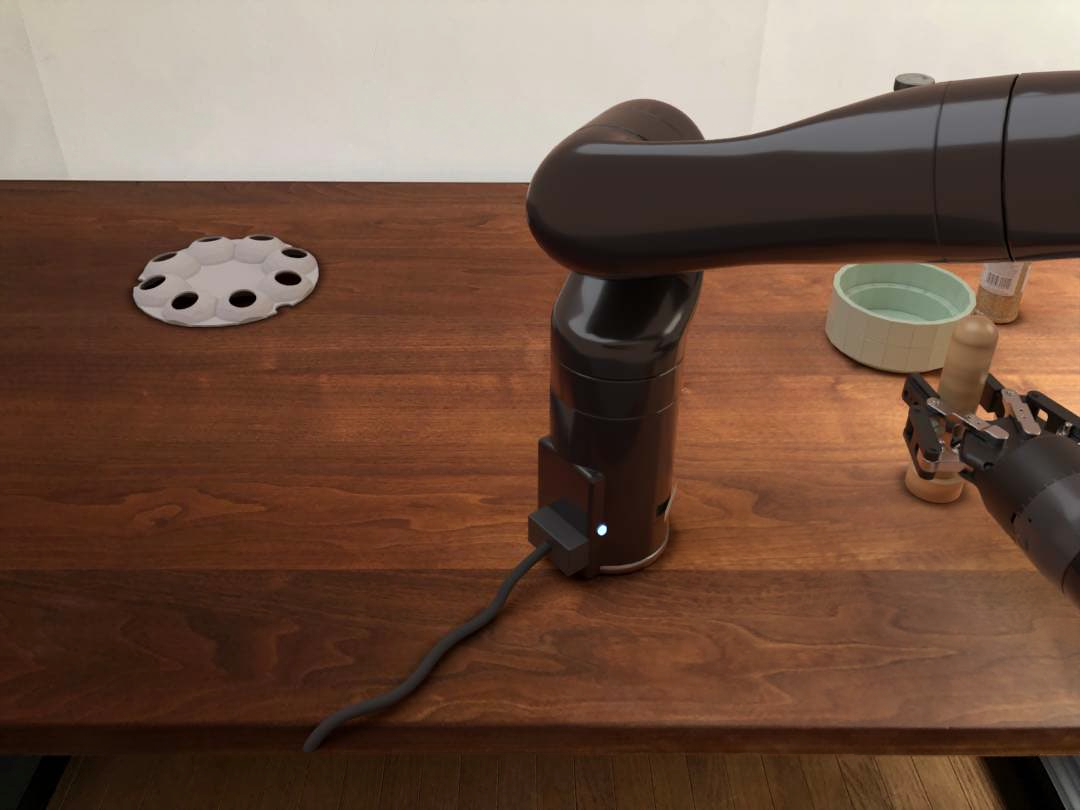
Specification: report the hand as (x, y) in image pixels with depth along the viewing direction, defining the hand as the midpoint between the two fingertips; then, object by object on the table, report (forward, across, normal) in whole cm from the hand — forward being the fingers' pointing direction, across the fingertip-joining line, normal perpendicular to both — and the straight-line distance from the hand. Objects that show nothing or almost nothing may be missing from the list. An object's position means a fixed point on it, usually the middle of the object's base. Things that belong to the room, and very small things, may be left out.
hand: (940, 379), depth 84 cm
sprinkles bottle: (+22, -20, +9) cm, 31 cm away
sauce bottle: (+37, -16, +9) cm, 42 cm away
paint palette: (+45, +58, +9) cm, 74 cm away
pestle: (-3, 0, +9) cm, 9 cm away
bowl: (+19, -7, +9) cm, 22 cm away
